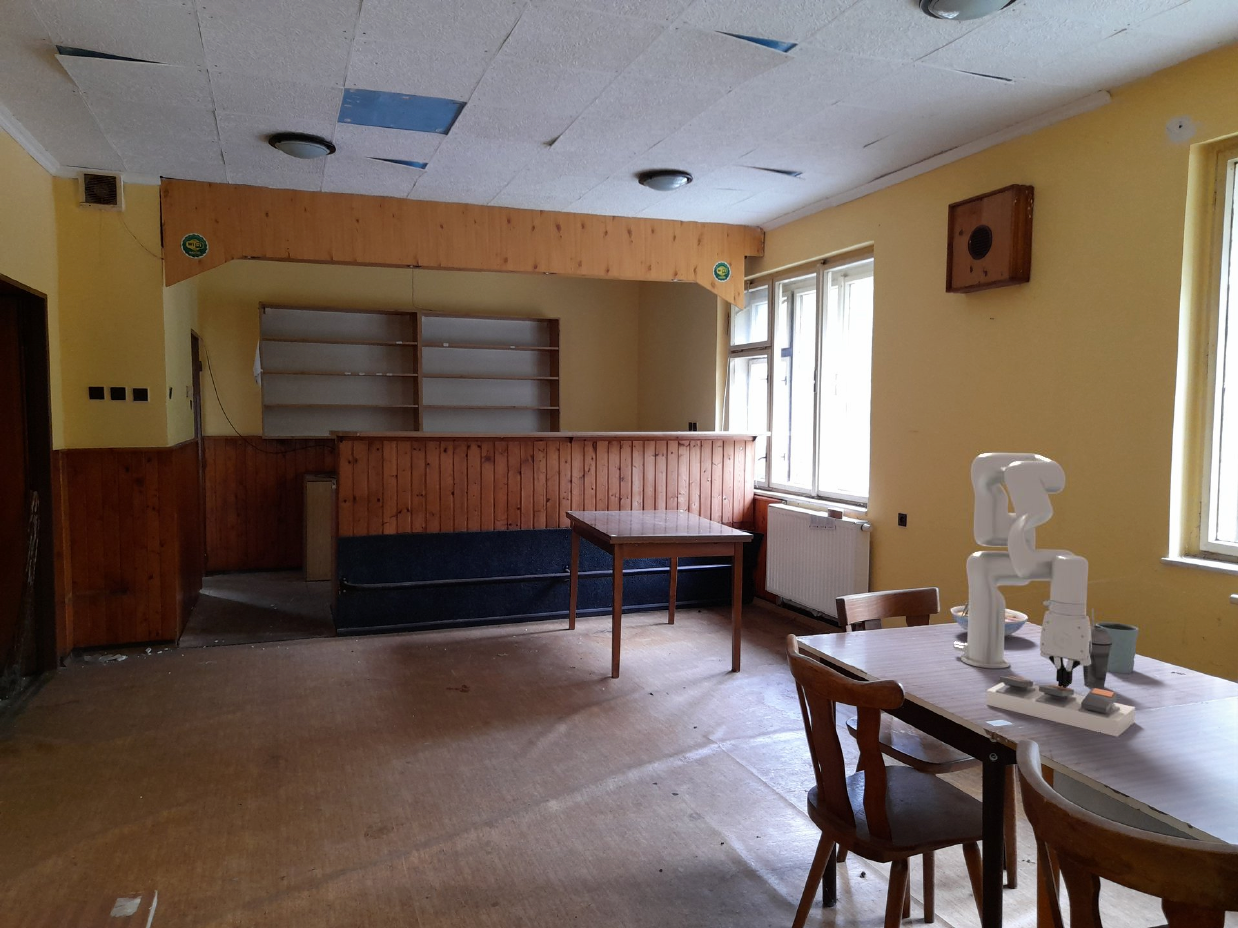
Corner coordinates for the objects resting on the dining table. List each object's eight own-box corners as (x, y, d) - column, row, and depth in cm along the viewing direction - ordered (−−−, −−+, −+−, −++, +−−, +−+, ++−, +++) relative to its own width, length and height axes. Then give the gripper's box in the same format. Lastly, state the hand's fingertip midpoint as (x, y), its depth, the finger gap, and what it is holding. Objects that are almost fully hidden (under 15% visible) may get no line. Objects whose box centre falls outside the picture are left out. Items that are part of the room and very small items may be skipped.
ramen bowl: (1024, 649, 253) (1025, 622, 252) (943, 639, 264) (944, 613, 264) (1029, 632, 275) (1030, 607, 274) (955, 623, 286) (955, 599, 285)
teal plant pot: (1097, 671, 232) (1099, 627, 231) (1091, 661, 241) (1093, 620, 241) (1139, 675, 228) (1141, 631, 227) (1132, 665, 237) (1134, 623, 237)
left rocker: (998, 684, 200) (999, 675, 200) (1010, 685, 206) (1011, 676, 206) (1020, 689, 197) (1021, 680, 197) (1032, 689, 202) (1033, 680, 202)
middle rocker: (1038, 694, 194) (1039, 685, 194) (1050, 693, 199) (1051, 684, 200) (1061, 699, 190) (1062, 690, 190) (1073, 698, 196) (1074, 688, 196)
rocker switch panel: (986, 704, 202) (986, 688, 202) (1007, 692, 211) (1007, 677, 211) (1117, 736, 182) (1118, 718, 182) (1134, 722, 191) (1135, 705, 191)
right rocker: (1081, 710, 188) (1081, 701, 187) (1092, 695, 193) (1092, 687, 193) (1106, 716, 184) (1106, 707, 184) (1117, 701, 190) (1117, 692, 189)
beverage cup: (1114, 690, 214) (1118, 613, 213) (1083, 688, 216) (1086, 611, 215) (1104, 682, 221) (1107, 607, 220) (1074, 680, 223) (1077, 605, 222)
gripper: (1028, 605, 199) (1024, 681, 200) (1098, 616, 189) (1094, 697, 190) (1038, 600, 204) (1035, 675, 205) (1108, 611, 194) (1104, 689, 195)
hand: (1063, 685), depth 198 cm, fingers closed
